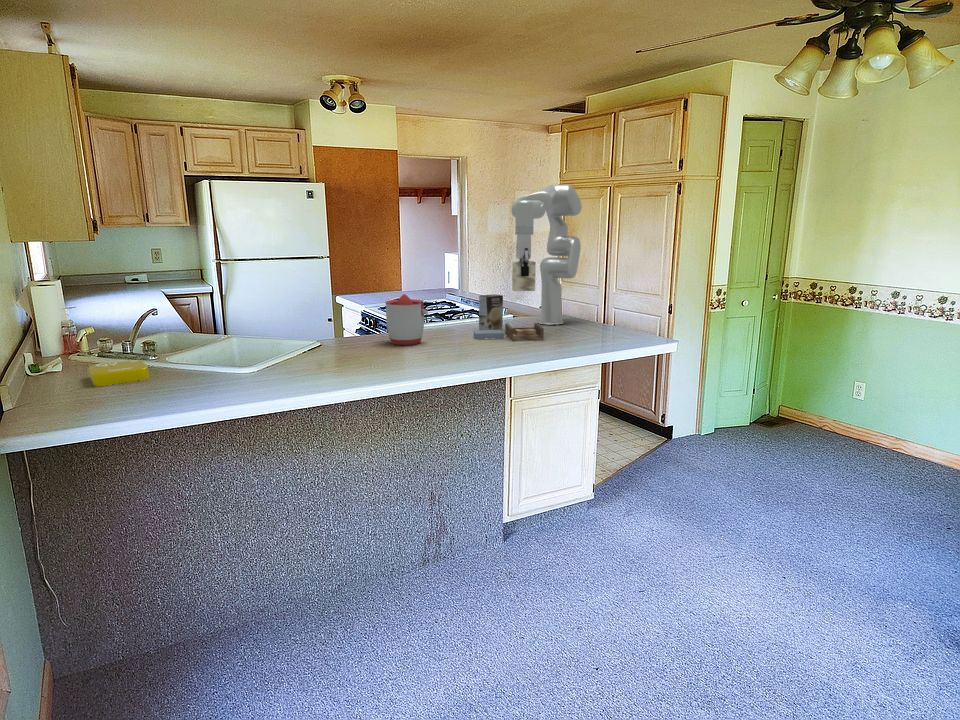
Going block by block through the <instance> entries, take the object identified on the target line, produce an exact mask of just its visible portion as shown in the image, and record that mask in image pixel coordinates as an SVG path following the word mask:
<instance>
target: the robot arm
mask: <svg viewBox="0 0 960 720" xmlns="http://www.w3.org/2000/svg"><path fill="white" fill-rule="evenodd" d="M511 205H512V206H511V214H512V216H513V217H514V218H515V223H514V224H515V227H514V228H515V230H514V232H515V233H514V234H515V236H516V247H515V248H516V249H515V259H518V260H519V261H522V267H521V276H529V261H530V259H531V257H532V236H533V235H534V225H535V224H534V219H535V220H537V219H542V218H543V217H544V216H545V214H546V217H547V219H548V223H549V232H548V239H547V244H546V253H547V254H548V255H550V257H545V258H543V259H542V260H541V261H540V264H539V270H540V277H541V292H540V293H541V300H540V302H541V303H540V319H539V320H537V323H541V324H561V323H564V324H565V322H564V321H571V319H572V317H571V315H563V314H562V294H563V293H562V292H563V290H562V289H563V288H562V284H561V282H560V281H559V279H574V278H575V277H576V275H577V273H578V267H579V261H580V256H581V255H580V254H581V249H582V248H581V245H582V244H581V241H580V238H579V237H577V236H575V235H568V230H569V227H568V225H567V223H566V221H565V220H564V218H563V217H575V216H578V215H579V214H580V213H581V211H582V201H581V199H580V197H579V195H578V193H577V191H576V189H575V188H574V187H573V186H572V185H571V184H569V183H568V184H549V185H547V186H546V187H544V188H542V189H541V190H540V191H537V192H533V193H531V194H526V195H523V196H520V197H518V198H517V199H516V200H515V201H514V202H513V203H512V204H511ZM551 256H552V257H551ZM523 261H524V262H523Z"/></svg>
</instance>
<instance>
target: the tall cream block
mask: <svg viewBox="0 0 960 720" xmlns="http://www.w3.org/2000/svg"><path fill="white" fill-rule="evenodd" d="M523 262H524V261H523ZM536 266H537V265H536V261H534V260H533V261H532V260H529V276H521V267H522V261H517V260H516V261H515V260H514V261H512V269H511V270H512V271H511V272H512V276H511V277H512V278H511V279H512V282H511V283H512V285H511V286H512V287H511V289H512V290H511V291H513V292H536Z"/></svg>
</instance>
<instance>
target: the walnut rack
mask: <svg viewBox="0 0 960 720" xmlns="http://www.w3.org/2000/svg"><path fill="white" fill-rule="evenodd" d="M533 326H534V327H533ZM533 326H532V327H512V326H511V325H510V324H509V322H508V323H505V324H504V327H505V328H504V332H505V333H504V335H505V334H506V335H507V336H506V335H505V336H506V338H507V337H508V338H509V339H510V340H534V341H544V337H545V336H544V332H545V331H544V330H545V329H544V327H543V326H542V325H540V324H538V322H534V325H533ZM515 329H534V330H536V334H537V335H525V336H513V334H515ZM508 338H507V339H508ZM509 339H508V340H509ZM510 340H509V341H510Z"/></svg>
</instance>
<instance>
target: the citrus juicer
mask: <svg viewBox="0 0 960 720" xmlns="http://www.w3.org/2000/svg"><path fill="white" fill-rule="evenodd" d="M384 303H385V316H386V318H385V320H386V329H387V330H386V331H387V333H388V336H389V337H388V338H389V340H390V342H391V344H393V345H395V344H396V345H395V346H399V345H401V346H402V345H403V346H415V345H416V344H419V343H421V341H422V338H423V334H424V328H425V327H424V326H425V315H426V316H429V315H430V314H429V311H428V309H425V307H424V305H425V303H424V300H420V299H411V298H410V297H409V296H408V294H405V293H403V294H402V295H401V296H400V297H399V299H391V300H386V301H385V302H384Z"/></svg>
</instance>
